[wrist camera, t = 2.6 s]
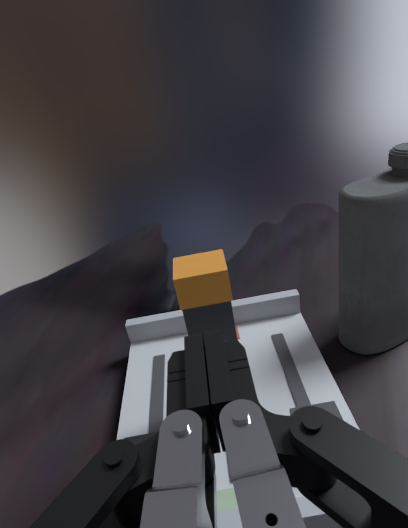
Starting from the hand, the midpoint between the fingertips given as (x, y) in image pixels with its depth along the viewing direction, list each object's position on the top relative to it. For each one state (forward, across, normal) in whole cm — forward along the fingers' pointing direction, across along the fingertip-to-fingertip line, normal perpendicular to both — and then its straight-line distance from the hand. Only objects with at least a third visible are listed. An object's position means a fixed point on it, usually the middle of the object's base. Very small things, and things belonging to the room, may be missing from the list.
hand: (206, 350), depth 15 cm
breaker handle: (+12, 0, +17) cm, 21 cm away
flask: (+23, -20, +20) cm, 36 cm away
